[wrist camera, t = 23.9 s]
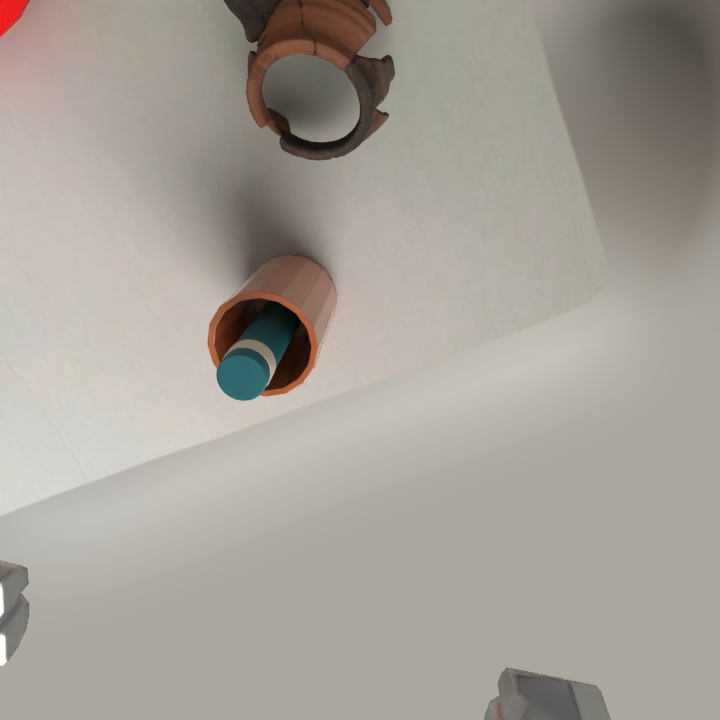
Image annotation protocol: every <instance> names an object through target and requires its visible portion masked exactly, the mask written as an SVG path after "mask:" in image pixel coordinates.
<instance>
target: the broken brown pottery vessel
mask: <svg viewBox="0 0 720 720" xmlns="http://www.w3.org/2000/svg"><path fill="white" fill-rule="evenodd" d="M224 2H225V3H226V5H227V6H228V8H229V9H230V10H231V12H232V13H233V14H234V15H235V16H236V17H237V18H238V19H239V20H240V21H241V23H242V25H243V27H244V30H245V35H246V38H247V40H248V41H249V42H251V43H254V42H257V41H258V40H259V41H258V44H257V46H258V49H257V53H256V52H254V51H250V52H249V56H248V79H247V88H246V89H247V90H246V94H247V100H248V104H249V108H250V112H251V114H252V116H253V117H254V120H255V121H256V123H257V124H258V126H259V127H260V128H262V127H264V126H266V125H268V126H269V127H270V128H271V130H272V131H274V132H275V133H276V134H278V135H279V136H281V138H280V145H281V148H282V149H283V150H284V151H286V152H288V153H290V154H292V155H295V156H298V157H302V158H306V159H310V160H328V159H332V158H338V157H340V156H345V155H346V154H347V153H349V152H351V151H353V150H354V149H356V148H357V147H358V146H359V145H360V144H361V143H362V142H363V141H365V140H366V139H367V138H368V137H369V136H370V135H371V134H373V133H374V132H375V131H376V130H377V129H378V128H379V127H380V126H382V125H383V123H384V122H385V121H386V120H387V118H388V117H389V114H388V113H386V112H384V113H382V112H381V111H379V110H378V109H376V107H377V106H378V105H379V104H380V103H381V102H382V101H383V100H384V98H385V97H386V95H387V94H388V91H389V85H390V82H391V81H392V79H393V78H394V76H395V70H394V64H393V59H392V57H391V56H390V55H387V56H385V57H383V58H382V59H381V60H380V59H376V58H367V57H363V56H359V55H357V52H358V51H359V50H360V49H361V48H362V47H363V45H364V44H365V42H366V41H367V40H368V39H369V38H370V37H371V36H372V35H374V33H375V32H376V22H375V18H374V16H373V15H372V14H371V13H370V12H369V11H368V10H367V8H368V7H369V4H370V5H371V7H372V8H373V9H374V10H375V11H376V13H377V14H378V16H379V17H380V19H381V20H382V22H383V23H384V25H386V26H388V25H389V24H391V22H392V16H391V12H390V9H389V7H388V5H387V4H386V2H385V0H224ZM293 54H309V55H316V56H318V57H321V58H323V59H326V60H327V61H329V62H331V63H333V64H334V65H335V66H337V67H338V68H339V69H341V70H343V71H344V72H345V73H346V74H347V76H348V77H349V79H350V80H351V81H352V83H353V85H354V87H355V89H356V91H357V94H358V97H359V102H360V118H359V120H358V123H357V124H356V126H355V128H354V129H353V130H352V131H351V132H350V133H349V134H348V135H346V136H345V137H343V138H341V139H339V140H336V141H332V142H311V141H308V140H304V139H301V138H299V137H297V136H295V135H294V134H292V133H291V131H290V127H289V122H288V120H287V119H286V118H285V117H284V116H282V115H281V114H280V113H278V112H276V111H275V110H273V109H271V108H268V109H267V107H266V104H265V102H264V98H263V94H262V83H263V78H264V76H265V74H266V72H267V69H268V68H269V67H270V65H271V64H273V63H274V62H275V61H277V60H278V59H280V58H282V57H285V56H288V55H293Z"/></svg>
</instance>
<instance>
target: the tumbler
mask: <svg viewBox="0 0 720 720" xmlns="http://www.w3.org/2000/svg"><path fill="white" fill-rule="evenodd" d="M269 300H271V301H276V302H279V303H281V304H282V305H284V306H285V307H287V308H289V309H290V310H292V311H293V312H295V313H296V314H297V316H298V317H299V319H300V320H301V322H300V324H299V326H298V328H297V330H296V332H295V334H294V335H293V337H292V339H291V341H290V343H289V345H288V347H287V348H286V350H285V352H284V354H283V356H282V358H281V360H280V361H279V363H278V365H277V367H276V369H275V372H274V375H273V376H272V378H271V380H270V382H269V384H268V385H267V386H266V388H265V389H264V391H263V392H262V394H260V395H261V396H272V395H279V394H285V393H288V392H289V391H291V390H293V389H294V388H296V387H298V386H299V385H301V384H303V383H304V381H305V380H306V379H307V377H308V376H309V374H310V373H311V372H312V370H313V369H314V367H315V364H316V362H317V359H318V357H319V354H320V351H321V349H322V346H323V344H324V341H325V338H326V336H327V333H328V331H329V328H330V325H331V323H332V320H333V318H334V313H335V309H336V303H337V295H336V290H335V286H334V284H333V281H332V279H331V278H330V276H329V274H328V273H327V272H326V271H325V270H324V269H323V268H322V267H321V266H320V265H319V264H318V263H316V262H314V261H313V260H311V259H308V258H306V257H303V256H298V255H283V256H279V257H276V258H274V259H271V260H270V261H268V262H267V263H265V264H264V265H263V266H261V267H260V268H259V269H258V270H257V271H256V272H255V273H254V274H253V275H252V276H251V277H250V278H249V279H248V280H247V281H246V282H245V283H243V284H242V285H241V286H240V287H239V288H238V289H237V290H236V291H235V292H234V293H233V294H232V295H231V296H230V297H229V298H228V299H227V300H226V301H225V302H224V303H223V304H222V305H221V306H220V307H219V309H218V311H217V312H216V314H215V316H214V317H213V319H212V321H211V322H210V325H209V334H208V347H209V351H210V354H211V357H212V360H213V363H214V365H215V366H216V368H218V366H219V364H220V362H221V361H222V359H223V357H224V356H225V354H226V353H227V352H228V351H229V349H230V348H231V347H232V346H233V345H234V344H235V343H236V342H237V341H238V339H239V338H240V337H241V335H242V334H243V333H244V332H245V330H246V329H247V328H248V326H249V325H250V324H251V323H252V321H253V320H254V319H255V317H256V316H257V315H258V314H259V312H260V311H261V310H262V309H263V307H264V306H265V305H266V303H267V302H268V301H269Z"/></svg>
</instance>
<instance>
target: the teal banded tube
mask: <svg viewBox="0 0 720 720" xmlns="http://www.w3.org/2000/svg"><path fill="white" fill-rule="evenodd" d="M300 322H301V320H300V319H299V317H298V316H297V314H296V313H295V312H293V311H292V310H290V309H289V308H287V307H285V306H284V305H282V304H281V303H279V302H276V301H271V300H269V301H268V302H267V303H266V305H265V306H264V307H263V309H262V310H261V311H260V312H259V314H258V315H257V316H256V317H255V319H254V320H253V321H252V323H251V324H250V325H249V326H248V328H247V329H246V330H245V332H244V333H243V334H242V335H241V337H240V338H239V339H238V341H237V342H236V343H235V344H234V345H233V346H232V347H231V348H230V349H229V351H228V352H227V353H226V354H225V356H224V357H223V359H222V361H221V362H220V364H219V366H218V368H217V381H218V384H219V386H220V388H221V389H222V390H223V391H224V392H225V393H226V394H227V395H228V396H230V397H232V398H234V399H237V400H243V401H245V400H252V399H254V398H256V397H258V396H259V395H260V394H262V392H263V391H264V389H265V388H266V386H267V385H268V384H269V382H270V380H271V378H272V376H273V375H274V372H275V369H276V367H277V365H278V363H279V361H280V360H281V358H282V356H283V354H284V352H285V350H286V348H287V347H288V345H289V343H290V341H291V339H292V337H293V335H294V334H295V332H296V330H297V328H298V326H299V324H300Z"/></svg>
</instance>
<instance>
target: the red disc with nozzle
mask: <svg viewBox="0 0 720 720" xmlns="http://www.w3.org/2000/svg"><path fill="white" fill-rule="evenodd" d="M28 2H29V0H0V37H1V36H2V35H3V34H4V33H5V32H6V31H7V30H8V29H9V28H10V27H11V26H12V25H13V24H14V23H15V22H16V21H17V20H18V19H19V18H20V17H21V15H22V13H23V11H24V10H25V8H26V6H27V4H28Z"/></svg>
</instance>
